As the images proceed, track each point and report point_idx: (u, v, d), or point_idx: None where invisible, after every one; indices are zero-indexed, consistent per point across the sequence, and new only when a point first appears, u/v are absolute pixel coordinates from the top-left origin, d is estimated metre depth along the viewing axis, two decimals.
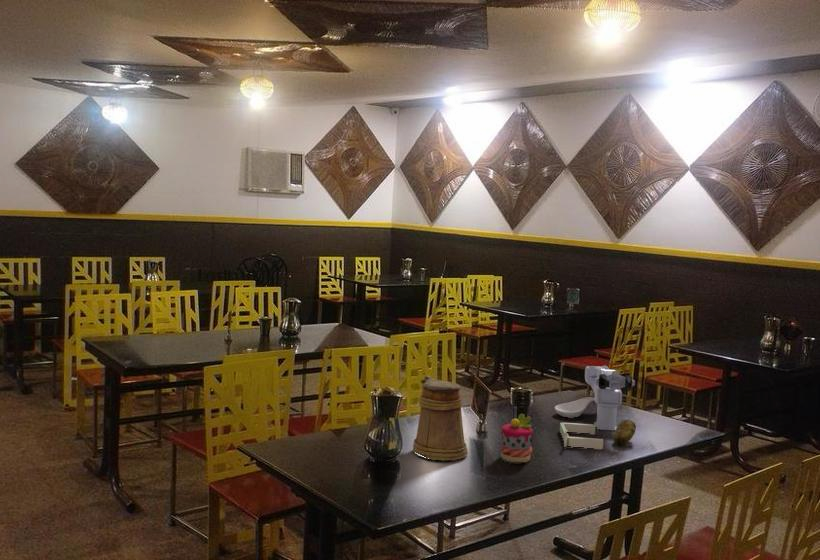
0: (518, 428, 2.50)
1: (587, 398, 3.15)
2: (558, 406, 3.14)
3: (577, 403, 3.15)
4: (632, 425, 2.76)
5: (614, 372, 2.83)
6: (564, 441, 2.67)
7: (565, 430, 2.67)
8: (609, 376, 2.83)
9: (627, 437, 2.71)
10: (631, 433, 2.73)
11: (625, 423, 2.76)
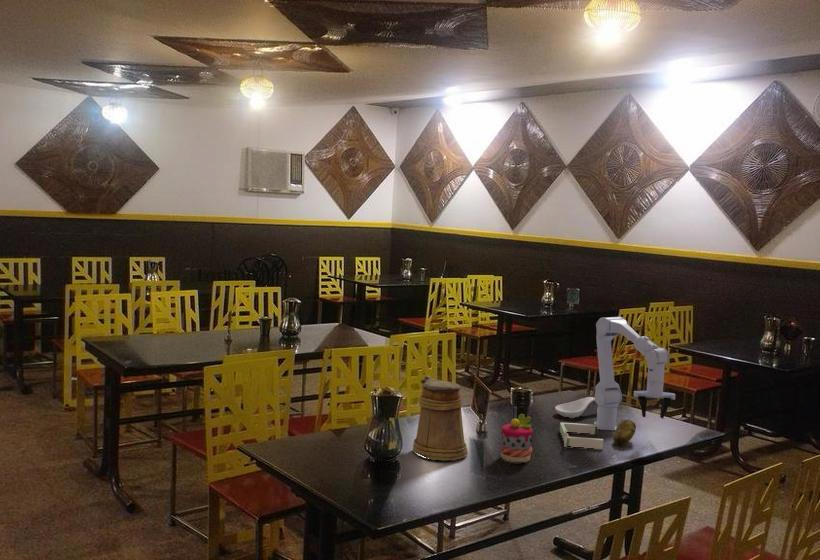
0: (518, 428, 2.49)
1: (588, 398, 3.15)
2: (559, 406, 3.14)
3: (577, 403, 3.15)
4: (632, 425, 2.76)
5: (656, 396, 2.70)
6: (564, 441, 2.67)
7: (565, 430, 2.67)
8: None
9: (627, 437, 2.71)
10: (631, 433, 2.73)
11: (625, 423, 2.76)
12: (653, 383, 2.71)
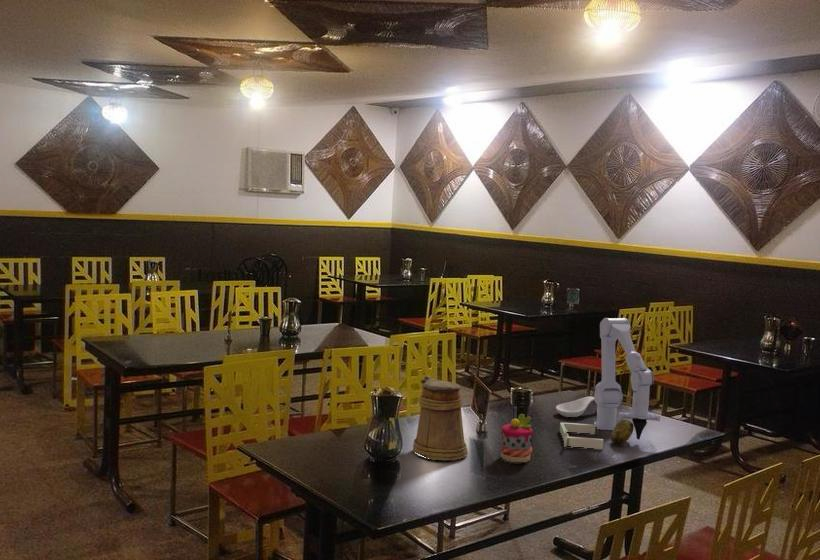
0: (518, 428, 2.49)
1: (587, 398, 3.16)
2: (559, 406, 3.14)
3: (577, 403, 3.15)
4: (630, 425, 2.76)
5: None
6: (564, 441, 2.67)
7: (565, 430, 2.67)
8: None
9: (625, 437, 2.70)
10: (629, 433, 2.73)
11: (622, 422, 2.76)
12: (638, 405, 2.72)
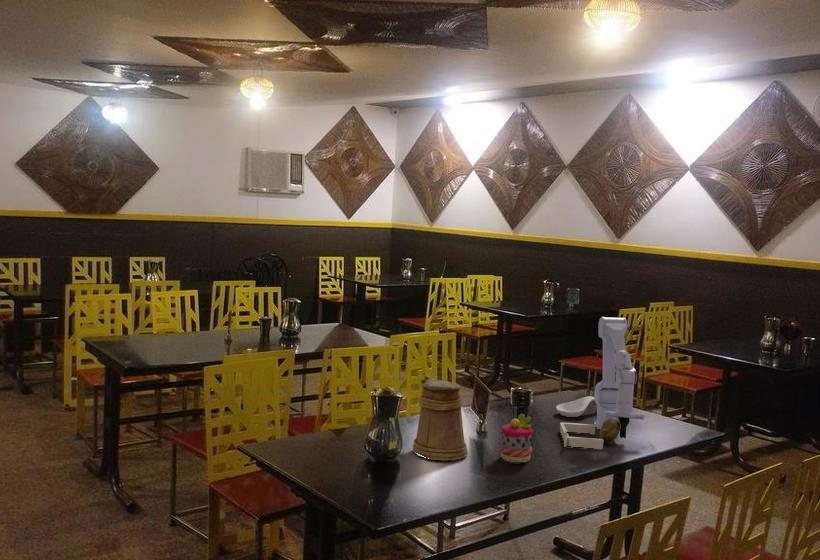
0: (518, 428, 2.50)
1: (587, 397, 3.16)
2: (559, 406, 3.14)
3: (577, 403, 3.15)
4: (616, 423, 2.76)
5: None
6: (564, 441, 2.67)
7: (565, 430, 2.67)
8: None
9: (613, 435, 2.70)
10: (616, 431, 2.73)
11: (609, 422, 2.76)
12: (622, 403, 2.73)
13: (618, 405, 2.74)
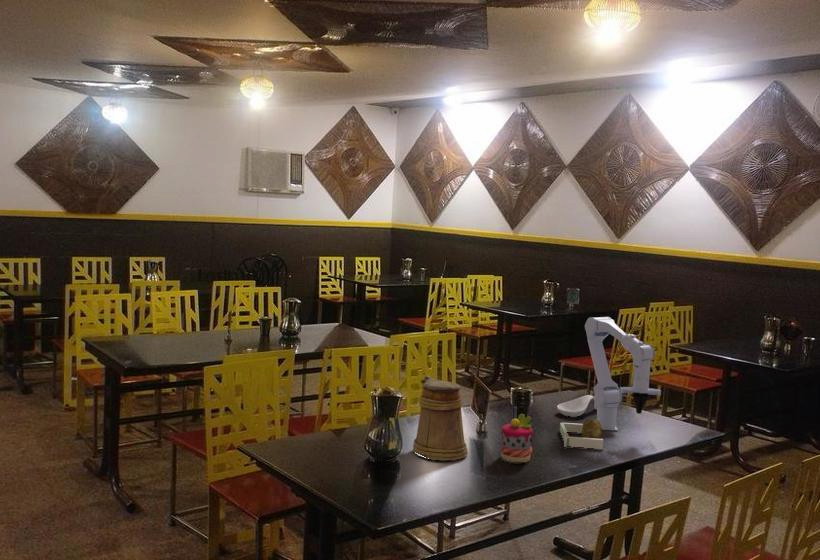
0: (518, 428, 2.49)
1: (586, 396, 3.18)
2: (559, 405, 3.15)
3: (577, 402, 3.17)
4: (599, 423, 2.76)
5: (641, 392, 2.76)
6: (564, 441, 2.67)
7: (565, 430, 2.67)
8: None
9: (598, 436, 2.70)
10: (600, 432, 2.73)
11: (592, 422, 2.76)
12: (639, 379, 2.76)
13: (635, 381, 2.78)
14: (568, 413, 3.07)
